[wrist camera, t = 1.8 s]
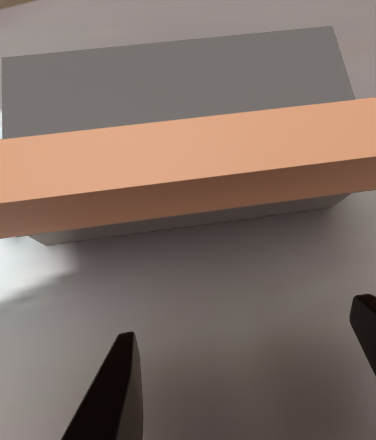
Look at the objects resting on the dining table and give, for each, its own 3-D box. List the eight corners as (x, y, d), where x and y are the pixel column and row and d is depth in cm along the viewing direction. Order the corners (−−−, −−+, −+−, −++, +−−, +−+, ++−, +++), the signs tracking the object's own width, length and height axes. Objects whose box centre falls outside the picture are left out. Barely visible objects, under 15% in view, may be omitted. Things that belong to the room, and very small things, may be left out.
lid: (382, 167, 19) (385, 189, 19) (-2, 215, 17) (1, 240, 17) (694, 61, 8) (706, 115, 8) (-299, 172, 6) (-294, 239, 6)
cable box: (331, 207, 25) (378, 174, 19) (-98, 264, 23) (-191, 247, 17) (299, 87, 27) (332, 25, 22) (-89, 129, 25) (-166, 73, 20)
